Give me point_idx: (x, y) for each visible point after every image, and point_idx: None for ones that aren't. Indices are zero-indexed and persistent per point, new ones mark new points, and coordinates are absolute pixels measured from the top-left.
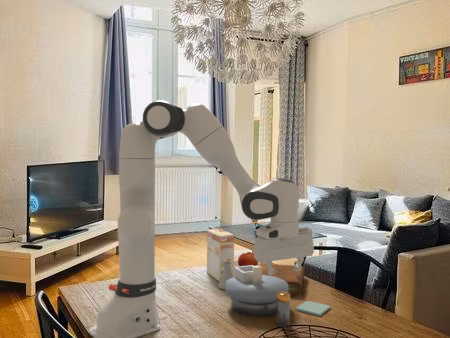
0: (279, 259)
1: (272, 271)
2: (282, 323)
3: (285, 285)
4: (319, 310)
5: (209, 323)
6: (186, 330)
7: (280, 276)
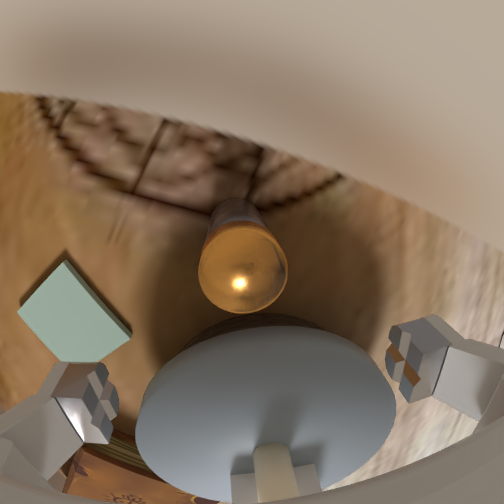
0: (472, 442)
1: (438, 333)
2: (250, 204)
3: (151, 419)
4: (55, 291)
5: (445, 298)
6: (496, 269)
7: (131, 490)
